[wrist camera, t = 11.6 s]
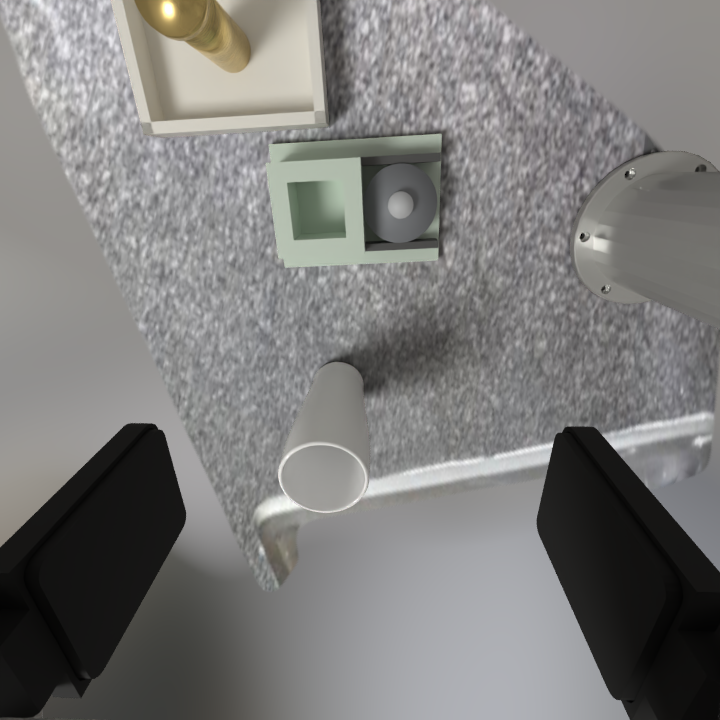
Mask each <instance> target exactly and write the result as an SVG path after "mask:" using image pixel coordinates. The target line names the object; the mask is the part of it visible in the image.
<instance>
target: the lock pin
mask: <svg viewBox="0 0 720 720" xmlns="http://www.w3.org/2000/svg"><path fill="white" fill-rule="evenodd" d="M134 1H135V4H136V6H137V8H138V10H139V12H140V14H141V15H142V17H143V18H144V19H145V21H146V22H147V23H148V24H149V25H150V26H151V27H153V28H154V29H155V30H157V31H158V32H159V33H161V34H162V35H164V36H165V37H167V38H169V39H172V40H176V41H185V42H186V43H187V44H189V45H190V46H192V47H193V48H194V49H196V50H197V51H198V52H200V53H201V54H202V55H204V56H205V57H206V58H208V59H209V60H211V61H212V62H213V63H215V64H216V65H217V66H219V67H220V68H221V69H223V70H224V71H226V72H229V73H238V72H240V71H242V70H243V69H244V68H245V67H246V66H247V65H248V63H249V60H250V56H251V47H250V43H249V40H248V38H247V36H246V34H245V33H244V32H243V31H242V29H241V28H240V27H239V26H238V25H237V24H236V22H235V21H234V20H233V19H232V18H231V17H230V16H229V14H228V13H227V12H226V11H225V10H224V9H223V7H222V6H221V5H220V4H219V3H218V2H217V1H216V0H134Z"/></svg>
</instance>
